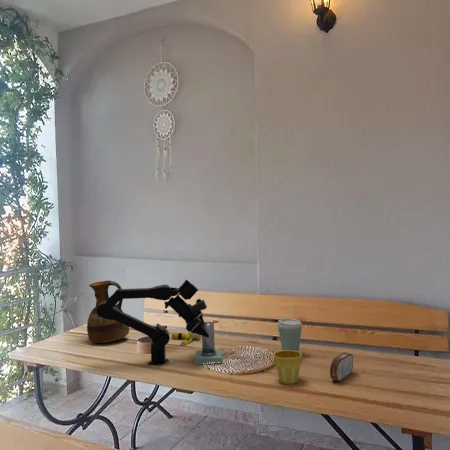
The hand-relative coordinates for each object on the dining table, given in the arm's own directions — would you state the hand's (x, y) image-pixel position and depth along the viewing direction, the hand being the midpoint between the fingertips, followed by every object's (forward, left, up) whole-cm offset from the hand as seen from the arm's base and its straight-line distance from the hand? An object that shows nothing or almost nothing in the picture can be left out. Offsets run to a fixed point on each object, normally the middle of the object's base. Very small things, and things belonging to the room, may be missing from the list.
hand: (208, 333), depth 186 cm
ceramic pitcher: (+13, +60, -11) cm, 63 cm away
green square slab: (0, 0, -11) cm, 11 cm away
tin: (-4, -55, -11) cm, 56 cm away
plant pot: (-13, -37, -11) cm, 41 cm away
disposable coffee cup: (+16, -31, -11) cm, 36 cm away
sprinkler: (+24, +24, -12) cm, 36 cm away
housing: (0, 0, -9) cm, 9 cm away
